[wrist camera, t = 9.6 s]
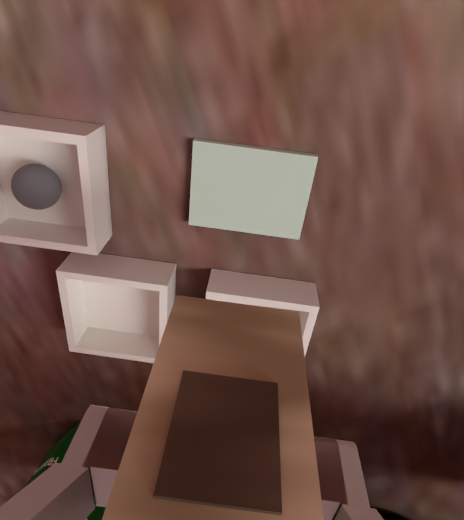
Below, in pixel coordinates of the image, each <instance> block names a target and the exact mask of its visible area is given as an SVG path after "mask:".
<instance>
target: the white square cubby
mask: <svg viewBox="0 0 464 520" xmlns="http://www.w3.org/2000/svg"><path fill="white" fill-rule="evenodd" d="M56 276H57V282H58V287H59V293H60V299H61V305H62V311H63V317H64V323H65V329H66V335H67V341H68V346H69V351H71V352H78V353H85V354H92V355H99V356H106V357H113V358H120V359H127V360H134V361H141V362H148V363H154V361H155V358H156V355H157V351H158V348H159V345H160V342H161V339H162V336H163V333H164V330H165V327H166V324H167V321H168V318H169V315H170V312H171V309H172V306H173V303H174V300H175V289H176V264H174V263H167V262H160V261H152V260H145V259H138V258H131V257H123V256H116V255H109V254H101V253H99V254H98V255H90V254H83V253H76V252H71V253H70V255H69V256H68V257H67V258H66V259H65V260H64V261H63V263H62V264H61V265H60V266H59V267H58V268H57V270H56Z"/></svg>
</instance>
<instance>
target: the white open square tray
mask: <svg viewBox="0 0 464 520" xmlns="http://www.w3.org/2000/svg"><path fill="white" fill-rule="evenodd" d="M206 299H210V300H217V301H225V302H232V303H240V304H247V305H255V306H262V307H269V308H277V309H284V310H292V311H299V315H300V323H301V332H302V340H303V349H304V357H305V355H306V351H307V348H308V344H309V341H310V338H311V334H312V331H313V328H314V324H315V321H316V317H317V314H318V311H319V301H318V295H317V289H316V284H315V283H312V282H305V281H298V280H291V279H283V278H276V277H269V276H261V275H254V274H247V273H240V272H232V271H225V270H218V269H211V273H210V277H209V282H208V286H207V290H206Z"/></svg>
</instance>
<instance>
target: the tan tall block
mask: <svg viewBox="0 0 464 520" xmlns="http://www.w3.org/2000/svg"><path fill="white" fill-rule="evenodd" d="M102 520H324V518H323V509H322V501H321V492H320V484H319V475H318V467H317V458H316V450H315V442H314V433H313V425H312V416H311V408H310V399H309V391H308V382H307V374H306V366H305V357H304V349H303V340H302V332H301V323H300V315H299V311H292V310H284V309H277V308H269V307H262V306H255V305H247V304H240V303H232V302H225V301H217V300H210V299H202V298H195V297H187V296H180V295H176V297H175V300H174V303H173V306H172V309H171V312H170V315H169V318H168V321H167V324H166V327H165V330H164V333H163V336H162V339H161V342H160V345H159V348H158V351H157V355H156V358H155V361H154V364H153V367H152V370H151V373H150V376H149V379H148V382H147V385H146V388H145V391H144V394H143V397H142V400H141V403H140V406H139V409H138V412H137V415H136V418H135V421H134V424H133V427H132V430H131V433H130V436H129V439H128V442H127V445H126V448H125V451H124V454H123V457H122V460H121V463H120V466H119V469H118V472H117V475H116V478H115V481H114V485H113V488H112V491H111V494H110V497H109V500H108V503H107V506H106V509H105V512H104V515H103V518H102Z"/></svg>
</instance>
